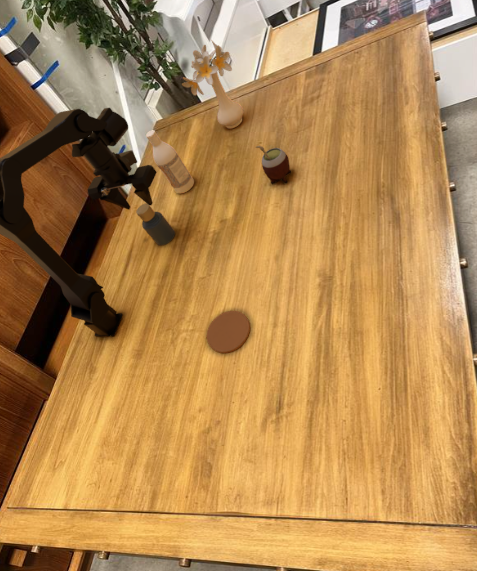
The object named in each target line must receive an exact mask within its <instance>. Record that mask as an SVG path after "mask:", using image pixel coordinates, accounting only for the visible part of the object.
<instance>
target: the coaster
mask: <svg viewBox="0 0 477 571" xmlns="http://www.w3.org/2000/svg"><path fill="white" fill-rule="evenodd" d="M250 332H251V324H250V320H249V319H248V317H247V316H246V315H245V314H244V313H243V312H241V311H237V310H227V311H225V312H222V313H221V314H219V315H217V316H216V317H214V319H213V320H212V321H211V322H210V324H209V326H208V328H207V331H206V341H207V344H208V346H209V347H210V348H211V349H212V350H213V351H215V352H217V353H220V354H228V353H232V352H235V351H236V350H238V349H239V348H241V347H242V346H243V345H244V344H245V343H246V341H247V340H248V338H249V335H250Z"/></svg>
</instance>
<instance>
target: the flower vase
mask: <svg viewBox="0 0 477 571" xmlns="http://www.w3.org/2000/svg"><path fill="white" fill-rule="evenodd" d="M210 41H211V44H212V46H213V48H214V50H213V51H211V52H210V53H209V51H207V45H206V44H203V45H202V48H201V50H200V51H201V52H200V51H199V50H196V49H195V50H193V52H192V55H193V57H194V60H191V66H190V67H191V68H192V69H193V70H194V72H193V74H192V79H191V78H187V77H184V76H183V77H182V79H183V80H184V81H185V82H182V83H181V86H183V87H184V88H190V92H191V94H192V95H193V96H197V94H198V93H199V94H200V95H201V96H204V95H205V93H204V92H203V90H202V88H201V87H200V85H199V83H201V82H202V81H203V80H204V79H205V81H206V84H208V85H210V86H211V87H212V88H213V89H212V90H213V91H214V94H215V96H216V99H217V101H218V110H217V114H216V119H217V122H218V124H219V125H221V126H223V127H225V128H226V129H231V130H232V129H234V128H236V127H238V126H239V125H240V124H241V123H242V121H243V116H244V108H243V106H242V105H241V104H240V103H239V102H237V101H234V100H232V99H231V97H229V95H228V93H227V92H226V91H225V89H224V86H223V84H222V82H221V80H220V77H223V76H224V75H225V71H226V72H232V71H233V68H232V66H231V65H230V63H228V60H229V59H230V57H231V54H230V52H229V51H225V52H224V50H223V48H222V47H221V46H220V45H217V44H216V43H215V42H214V40H212V39H210ZM219 76H220V77H219Z"/></svg>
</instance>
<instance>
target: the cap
mask: <svg viewBox="0 0 477 571" xmlns="http://www.w3.org/2000/svg"><path fill="white" fill-rule="evenodd" d="M155 212H156V211H154V209H153V207H151V206H150V205H149V204H147V203H146V202H144V203H142V204H141V205H139V206H138V207H137V209H136V215H137V216H138V217H139V218H140V219H141V220H142V222H143V221H144V222H146V221H149V220H151V219H152V218H153V217H154V215H155Z"/></svg>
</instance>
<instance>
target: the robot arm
mask: <svg viewBox="0 0 477 571" xmlns="http://www.w3.org/2000/svg"><path fill="white" fill-rule="evenodd" d="M128 130H129V123H128V121H127V120H126V119H125V117H123V116H121V115H120V114H119V113H118V112H116V111H113V110H112V108H111V107H104V108H103V109H102V110H101V112H100V114H99V115H98V116H97V118H96V117H93V116H91V115H89V113H87V112H86V111H85V110H83V109H81V108H75V109H69V110H64V111H59V112H57V114H56V115H54V117H52V118H51V119H50V120H49V121H48V123H47V125H46V127H45V128H44V129H43V130H42V131H40V132H39V133H37V134H36V135H34V136H33V137H31V138H30V139H28V140H26V141H25V142H24V143H21V144H20V145H18V146H17V147H15V148H14V149H12V150H10V151H9V152H7V153H6V154H4V155H2V156H1V157H0V235H1V236H3V237H4V238H6V239H9V240H10V241H11V242H14V243H15V244H17V246H19V247H20V248H21V250H22V251H24V252H25V253H26V254H27V255H28V256H29V257H30V258H31V259H32V260H33V261H34V262H35V263H36V264H37V265H39V267H40V268H42V270H44V271H45V272H46V273H47V274H48V275H49V276H50V278H52V279H53V280H54V281H55V282H56V283H57V284H58V285H59V286H60V288H61V291H62V294H63V296H64V297H65V299H66V300H67V302H68V303H69V305H70V316H71V318H74V319H77V320H81V321H84V323H83V325H84V326H85V327H87V328H88V329H90V330H91V331H92V332H94V337H97V338H99V337H100V338H102V337H103V338H104V337H105V338H107V337H108V338H110V337H111V338H112V337H115V336H116V333H117V331H118V328H119V326H120V324H121V321H122V320H123V316H124V314H123V313H122V312H119V313H118V312H117V310H115V309H114V308H113V307H112V306H111V305H109V304H108V302H107V301H106V299H105V295H106V294H105V291H104V290H103V288H104V286H102V285H101V284H99V283H98V281H97V280H96V279H95V278H94V276H92V275H88V274H87V275H86V274H81V273H77V272H76V271H75V270H74V269H73V268H72V267H71V265H69V264H68V263H67V262H66V261H65V259H63V257H62V256H60V254H59V253H58V252H57V251H56V250H55V249H54V248H53V247H52V245H50V244H49V243H48V242H47V241H46V240H45V239H44V238H43V236H41V234H39V232H37V230H36V227H35V224H34V221H33V219H32V217H31V215H30V214H29V212H28V211H27V209H26V207H25V191H24V187H23V182H22V176H23V174H24V173H25V172H26V171H28V170H29V169H31V168H33V167H34V166H35V165H38V163H40V162H42V161H43V160H44V159H46V158H47V157H48V156H50V155H51V154H53V153H55V152H56V151H58V150H59V149H60V148H61V147H64V146H66V145H70V144H71V157H72V158H82V157H84V159H85V160H86V161H87V162H88V163H89V164H90V165H91V167H92V168H93V170H94V171H93V172H92V174H93V175H94V176H95V177H93V179H92V181H91V183H90V184H89V186H88V188H87V195H88V197H90V198H91V199H92V200H93V201H94V200H100V201H105V202H107V203H111V204H113V205H116V206H119V207H121V208H123V209H126V210H128V211H129V210H130V209H131V205H130V203H129V202H128V201H127V199H126V198H125V197H124V195H123V194H122V193H121V191H120V189H119V188H121V187H125V186H126V185H131V186H132V188H134V189H135V190H134V192H133V193H134V194H135V195H136V196H137V197H138V198H139V199H141V200H142V201H143V202H144V203H147V204H149V205H150V207H151V206H153V199H152V195H151V192H150V187H152V184H153V181H154V179H155V177H156V175H157V172H158V171H157V170H156V169H155V168H154V166H153V165H152V164H146V165H141V166H138V167H136V168H135V171H134V173H133V174H129V173H131V171H132V169H133V168H132V166H133V165H135V164H138V159H137V157H136V156H135V155H136V154H135V153H134V151H133V150H132V149H131V150H127V151H123V152H119V153H115V152H114V151H112V150H111V149H110V148H109V147H114V146H116V145H117V144H118V143H119V142H120V140H121V139H122V138H123V136H124V135H125V134H126V132H128ZM75 142H78V143H75Z"/></svg>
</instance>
